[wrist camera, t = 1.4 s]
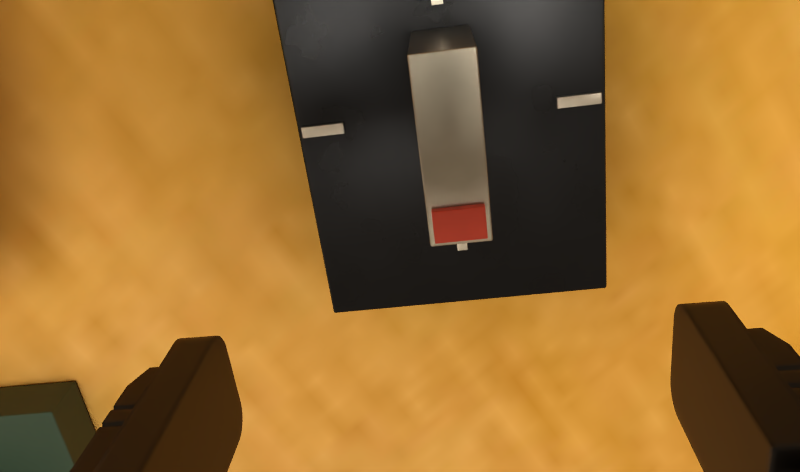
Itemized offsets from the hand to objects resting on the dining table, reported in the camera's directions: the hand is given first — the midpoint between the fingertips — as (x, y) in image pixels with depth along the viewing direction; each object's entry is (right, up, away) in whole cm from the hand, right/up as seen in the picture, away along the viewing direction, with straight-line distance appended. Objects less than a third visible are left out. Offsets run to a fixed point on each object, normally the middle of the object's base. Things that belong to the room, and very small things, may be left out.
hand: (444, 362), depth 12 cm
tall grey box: (+1, +6, +10) cm, 12 cm away
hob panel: (+1, +7, +13) cm, 15 cm away
